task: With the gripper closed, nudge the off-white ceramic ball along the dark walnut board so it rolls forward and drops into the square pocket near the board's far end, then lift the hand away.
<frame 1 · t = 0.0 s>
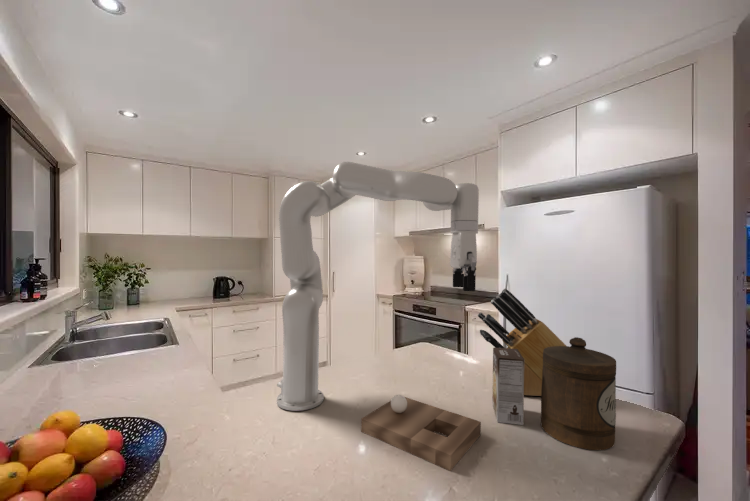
hand: (463, 288, 94), 31 cm above the countertop, tool pointing down, fingers open, 9 cm apart
wooden container: (576, 433, 78), on the countertop
board: (420, 433, 76), on the countertop
ball: (399, 403, 80), point 5 cm above the countertop, touching board
knife block: (538, 391, 101), on the countertop
coffee box: (507, 416, 85), on the countertop
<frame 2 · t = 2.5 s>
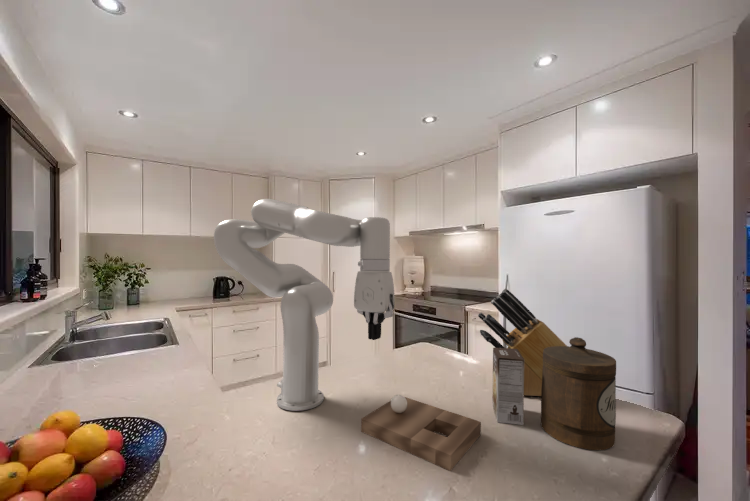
hand: (374, 338, 84), 19 cm above the countertop, tool pointing down, fingers closed
nothing on the countertop moved.
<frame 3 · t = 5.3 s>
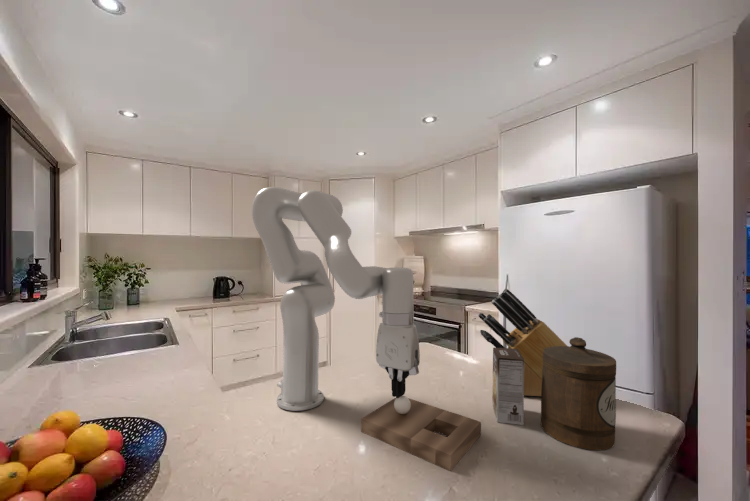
hand: (398, 395, 80), 7 cm above the countertop, tool pointing down, fingers closed
ball: (402, 404, 79), point 5 cm above the countertop, tilted 26°, touching board, gripper
everything else where it was.
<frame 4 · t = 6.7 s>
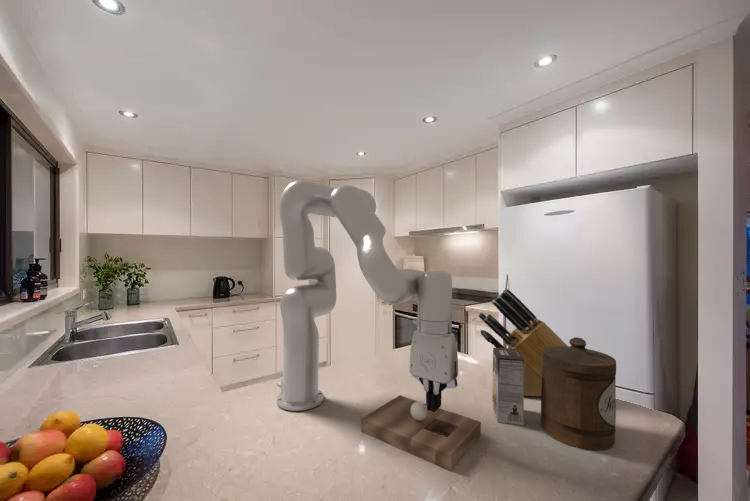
hand: (433, 408, 74), 7 cm above the countertop, tool pointing down, fingers closed
ball: (419, 410, 76), point 5 cm above the countertop, tilted 159°, touching board
everything else where it was.
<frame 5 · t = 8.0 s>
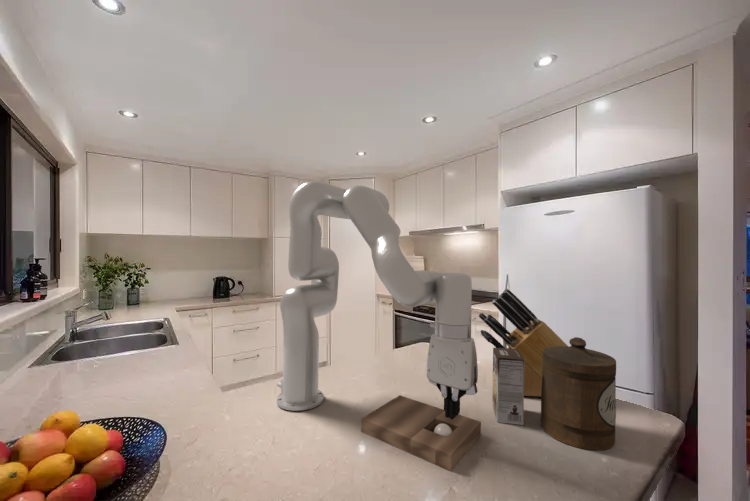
hand: (451, 415, 71), 6 cm above the countertop, tool pointing down, fingers closed
ball: (443, 433, 72), point 2 cm above the countertop, tilted 18°
everything else where it was.
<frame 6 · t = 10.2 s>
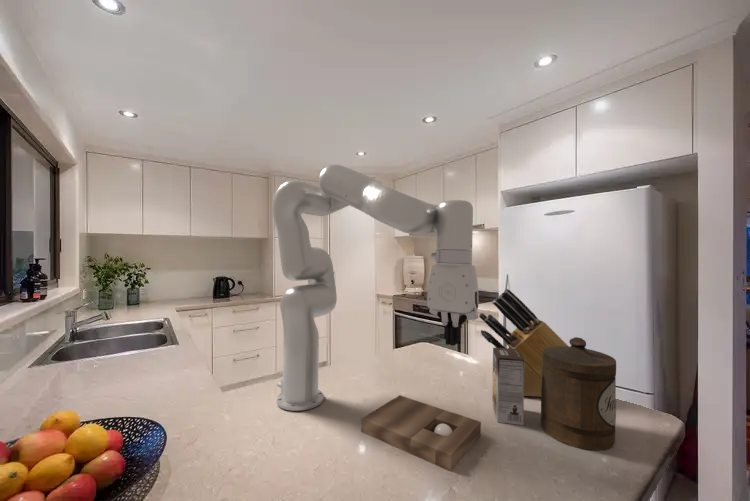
hand: (452, 343, 72), 22 cm above the countertop, tool pointing down, fingers closed
nothing on the countertop moved.
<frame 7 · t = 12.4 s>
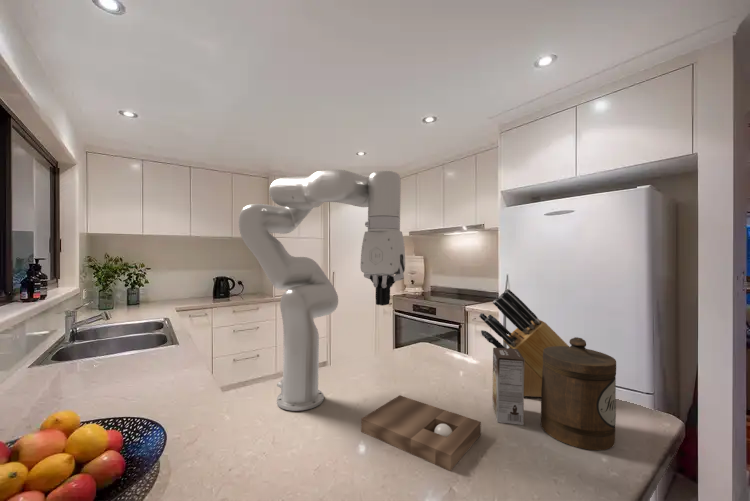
hand: (382, 304, 77), 29 cm above the countertop, tool pointing down, fingers closed
nothing on the countertop moved.
at the end: ball 0.9 cm from the target spot on the board, point 2.0 cm above the board's base; the gripper is holding nothing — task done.
